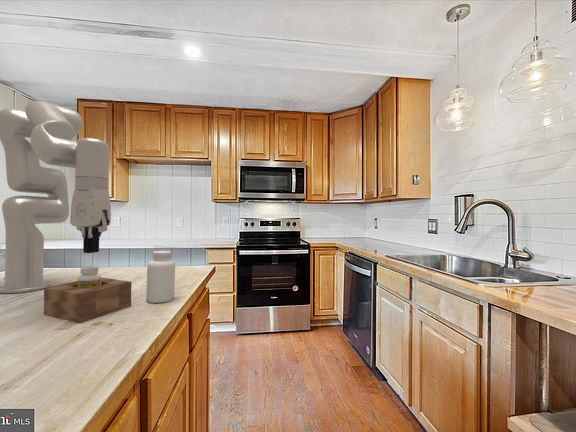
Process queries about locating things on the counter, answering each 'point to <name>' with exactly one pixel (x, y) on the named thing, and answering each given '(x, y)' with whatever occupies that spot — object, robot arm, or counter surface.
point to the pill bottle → (160, 278)
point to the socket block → (86, 300)
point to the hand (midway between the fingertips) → (91, 252)
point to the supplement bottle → (89, 277)
